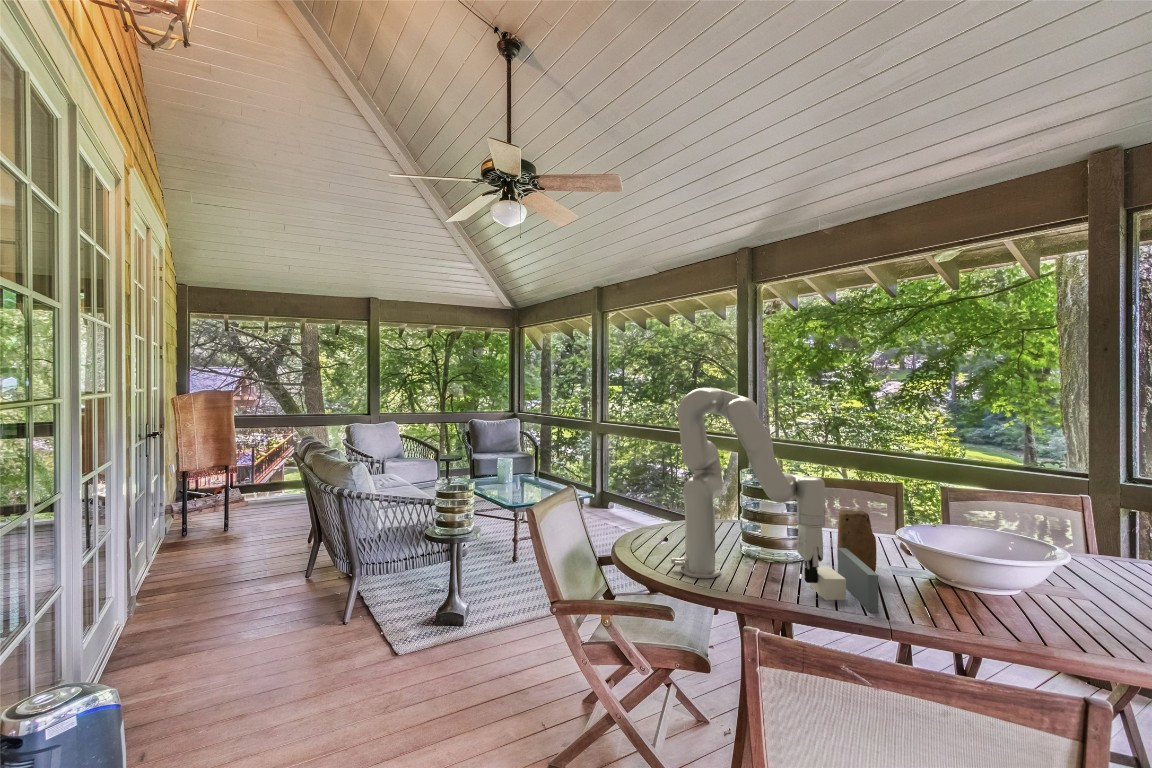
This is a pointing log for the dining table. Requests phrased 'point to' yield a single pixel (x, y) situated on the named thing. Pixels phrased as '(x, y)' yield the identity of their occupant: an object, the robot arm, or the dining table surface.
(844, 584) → the cream block
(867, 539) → the block
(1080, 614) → the dining table surface
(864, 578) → the slate board
